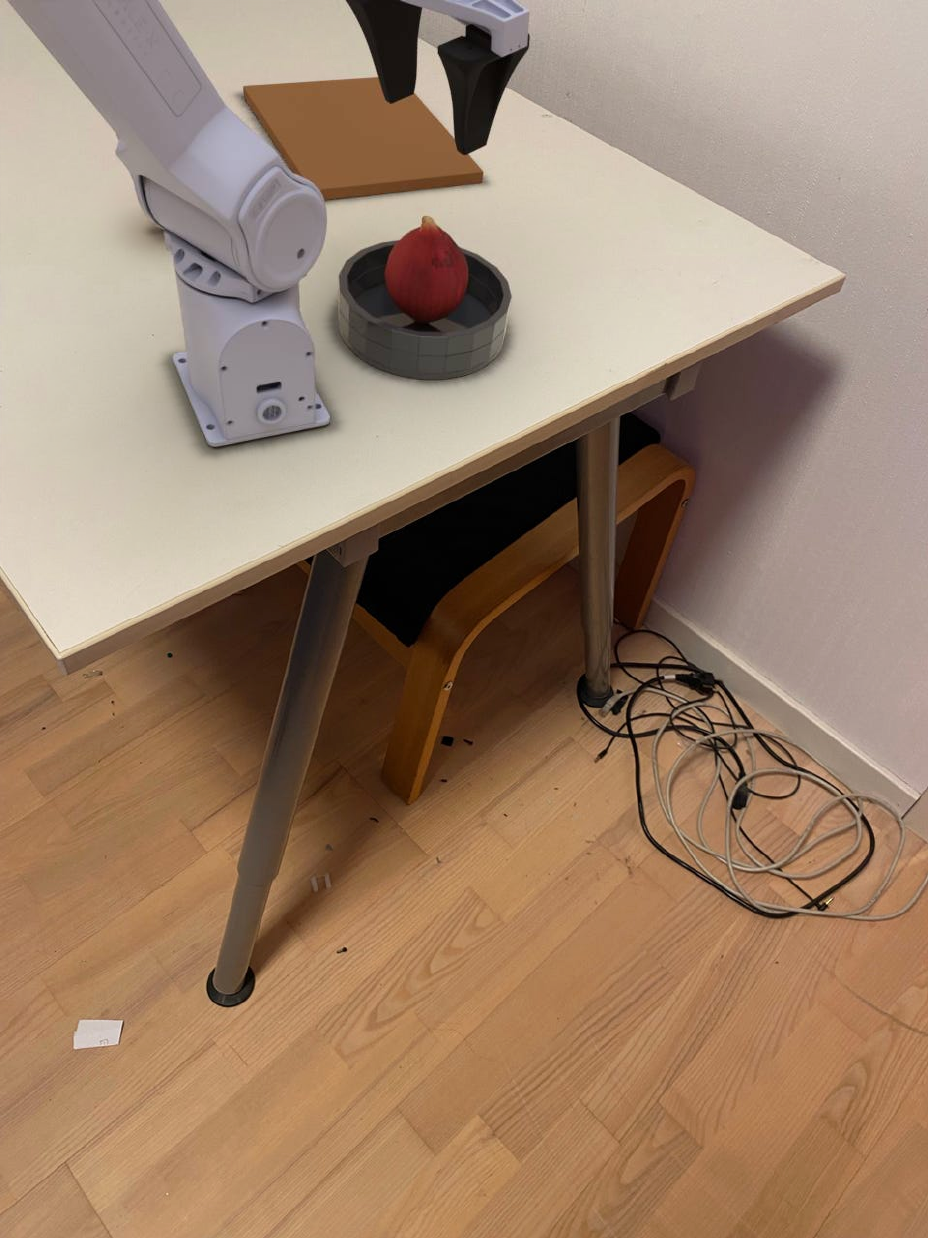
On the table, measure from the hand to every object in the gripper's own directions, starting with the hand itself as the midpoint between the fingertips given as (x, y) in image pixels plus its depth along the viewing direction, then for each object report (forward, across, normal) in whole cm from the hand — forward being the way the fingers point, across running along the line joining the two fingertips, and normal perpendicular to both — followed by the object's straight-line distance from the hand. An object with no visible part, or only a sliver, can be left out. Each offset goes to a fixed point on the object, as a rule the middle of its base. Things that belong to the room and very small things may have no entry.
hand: (435, 121), depth 61 cm
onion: (+11, -4, +5) cm, 13 cm away
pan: (+12, -4, +5) cm, 13 cm away
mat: (+14, +22, -9) cm, 27 cm away
